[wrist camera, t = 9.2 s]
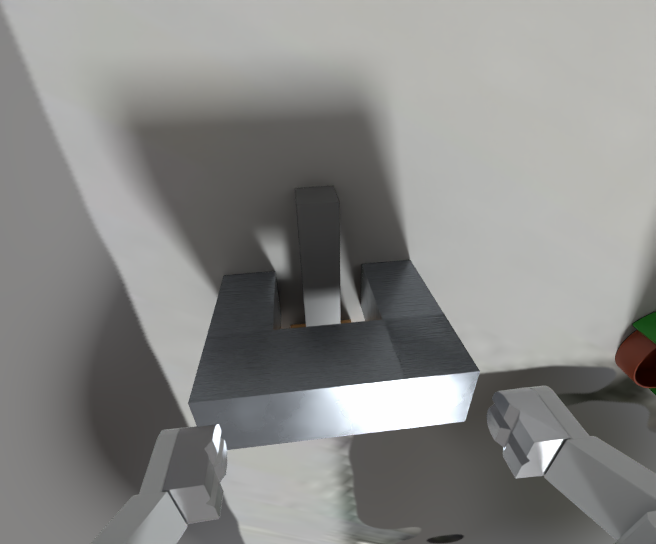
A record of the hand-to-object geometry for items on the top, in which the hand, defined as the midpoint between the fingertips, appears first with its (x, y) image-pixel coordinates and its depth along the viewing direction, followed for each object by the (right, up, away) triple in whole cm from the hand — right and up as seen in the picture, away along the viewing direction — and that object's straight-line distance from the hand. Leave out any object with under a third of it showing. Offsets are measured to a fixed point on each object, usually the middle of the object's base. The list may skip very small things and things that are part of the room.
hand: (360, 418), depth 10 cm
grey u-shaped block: (-2, +3, +17) cm, 17 cm away
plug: (-2, +3, +17) cm, 17 cm away
